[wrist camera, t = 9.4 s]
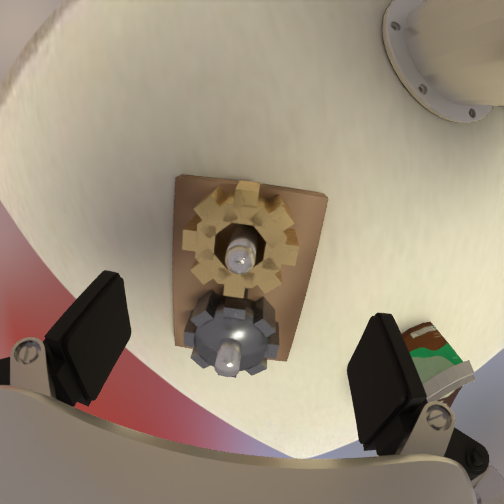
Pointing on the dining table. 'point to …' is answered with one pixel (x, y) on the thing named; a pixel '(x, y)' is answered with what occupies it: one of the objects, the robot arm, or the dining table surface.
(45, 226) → the dining table surface
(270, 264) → the wooden gear
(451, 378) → the food container
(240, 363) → the gear
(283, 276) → the gear board
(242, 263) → the peg
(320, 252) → the dining table surface
